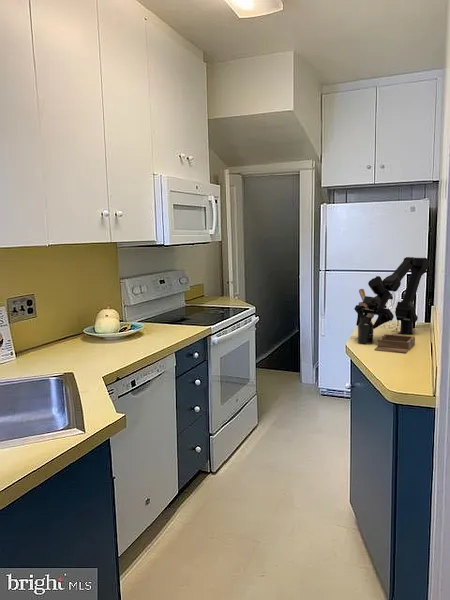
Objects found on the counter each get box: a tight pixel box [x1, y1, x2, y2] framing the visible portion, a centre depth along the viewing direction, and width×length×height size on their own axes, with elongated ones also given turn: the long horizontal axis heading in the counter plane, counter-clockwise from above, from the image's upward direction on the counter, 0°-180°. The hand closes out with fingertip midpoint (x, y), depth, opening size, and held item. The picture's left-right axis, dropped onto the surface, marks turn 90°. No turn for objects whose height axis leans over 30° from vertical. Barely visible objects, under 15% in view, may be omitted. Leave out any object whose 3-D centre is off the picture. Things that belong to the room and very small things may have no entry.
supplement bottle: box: [357, 316, 374, 345], centre depth 221 cm, size 7×7×12 cm
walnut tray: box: [374, 333, 416, 354], centre depth 211 cm, size 18×13×4 cm
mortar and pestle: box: [358, 288, 375, 325], centre depth 258 cm, size 12×9×20 cm
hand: (365, 326), depth 221 cm, fingers open, 9 cm apart
